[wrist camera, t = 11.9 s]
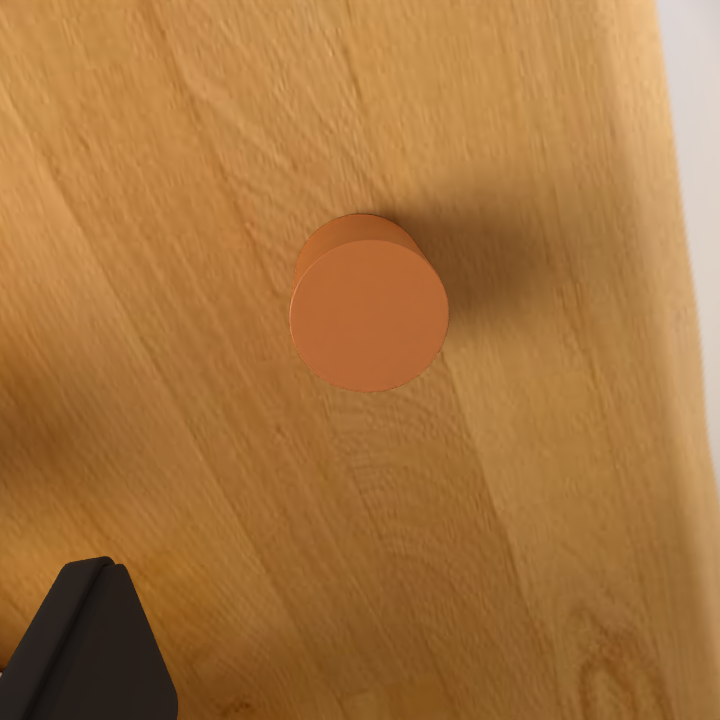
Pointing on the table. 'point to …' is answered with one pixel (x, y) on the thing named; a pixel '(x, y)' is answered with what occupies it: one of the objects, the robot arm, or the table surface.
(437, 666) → the table surface
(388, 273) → the orange cylinder
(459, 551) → the table surface
